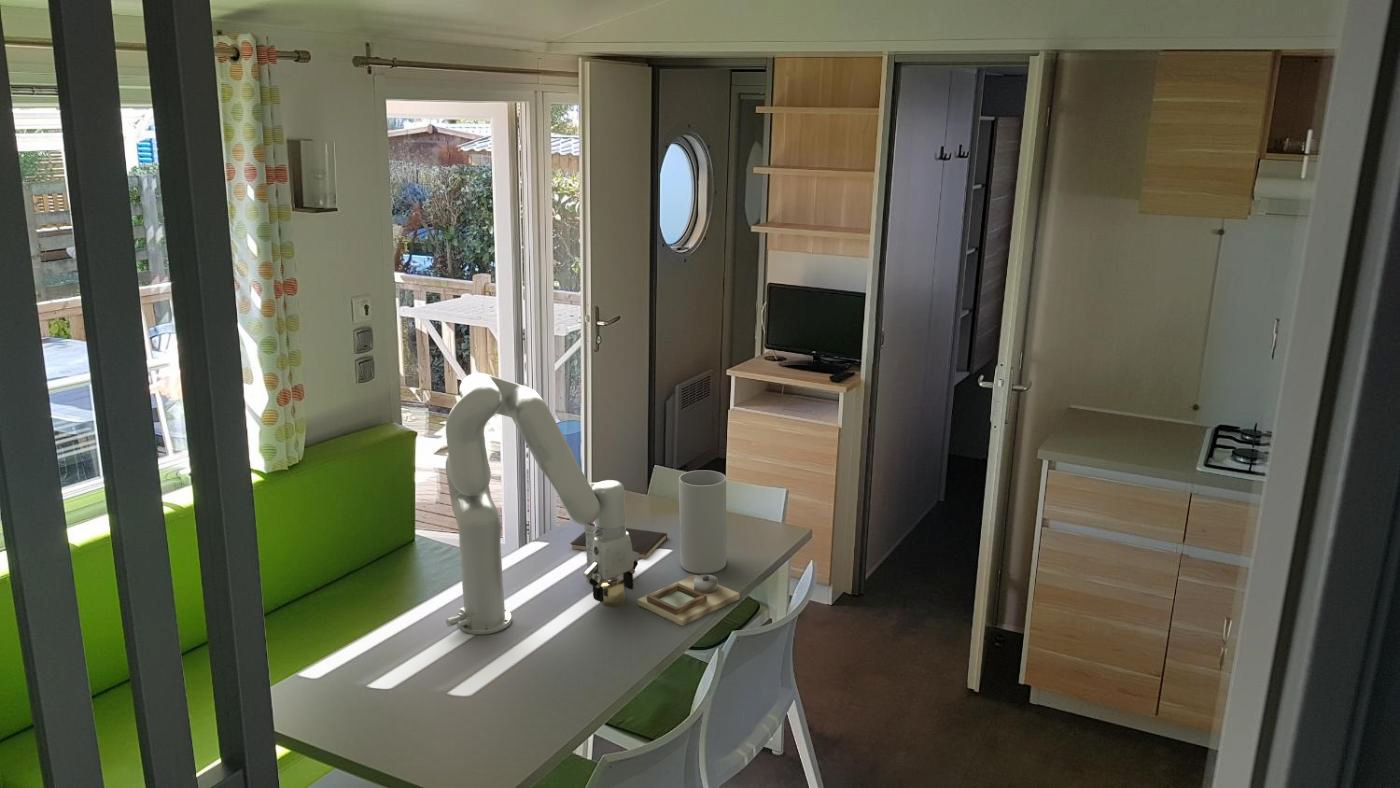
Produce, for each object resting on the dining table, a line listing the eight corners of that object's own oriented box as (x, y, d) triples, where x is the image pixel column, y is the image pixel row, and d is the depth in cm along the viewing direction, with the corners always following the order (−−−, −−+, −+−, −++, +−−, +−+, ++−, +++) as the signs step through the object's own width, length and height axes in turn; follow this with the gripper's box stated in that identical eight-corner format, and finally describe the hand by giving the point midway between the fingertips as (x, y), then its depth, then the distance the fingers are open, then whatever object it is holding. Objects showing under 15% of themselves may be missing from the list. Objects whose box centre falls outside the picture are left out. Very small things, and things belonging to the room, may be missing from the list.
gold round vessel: (611, 608, 255) (610, 587, 253) (596, 601, 259) (595, 580, 258) (629, 601, 259) (629, 579, 258) (614, 593, 263) (613, 572, 262)
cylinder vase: (700, 552, 288) (699, 467, 281) (735, 563, 280) (735, 476, 274) (670, 566, 278) (669, 479, 272) (706, 579, 271) (705, 489, 264)
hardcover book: (645, 561, 284) (645, 553, 283) (570, 550, 291) (570, 543, 291) (667, 539, 298) (667, 532, 298) (595, 530, 306) (594, 522, 305)
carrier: (681, 625, 246) (681, 607, 245) (637, 604, 257) (637, 586, 256) (739, 598, 259) (739, 581, 258) (695, 579, 270) (694, 562, 269)
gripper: (592, 544, 246) (596, 610, 250) (647, 524, 257) (649, 587, 262) (573, 536, 251) (577, 600, 255) (627, 516, 263) (630, 578, 267)
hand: (613, 593), depth 259 cm, fingers open, 9 cm apart
